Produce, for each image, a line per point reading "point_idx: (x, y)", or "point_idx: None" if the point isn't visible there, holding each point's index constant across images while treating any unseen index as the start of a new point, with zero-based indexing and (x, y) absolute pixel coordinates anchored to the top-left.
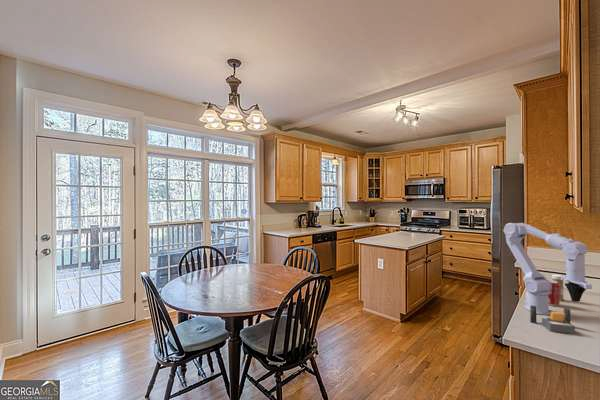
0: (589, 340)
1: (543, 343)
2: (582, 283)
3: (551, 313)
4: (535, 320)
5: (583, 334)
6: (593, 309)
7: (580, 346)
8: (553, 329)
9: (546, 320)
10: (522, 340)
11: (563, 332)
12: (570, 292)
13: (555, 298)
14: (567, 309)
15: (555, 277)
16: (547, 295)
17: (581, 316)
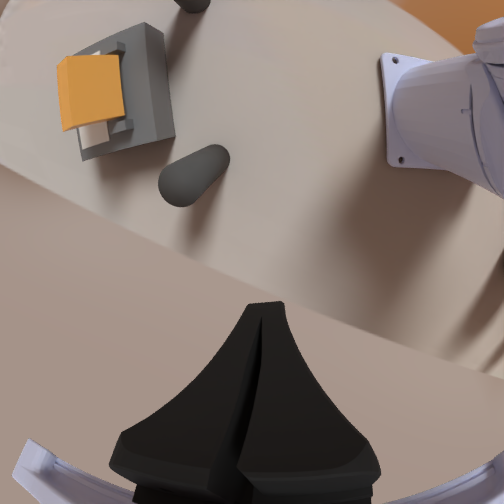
0: (70, 187)
1: (8, 48)
2: (30, 491)
3: (77, 57)
4: (177, 3)
5: (122, 190)
6: (460, 363)
7: (18, 139)
8: None
9: (112, 40)
10: (15, 5)
11: None
12: (265, 364)
13: None
14: (177, 188)
15: None
16: (486, 175)
17: (402, 304)
